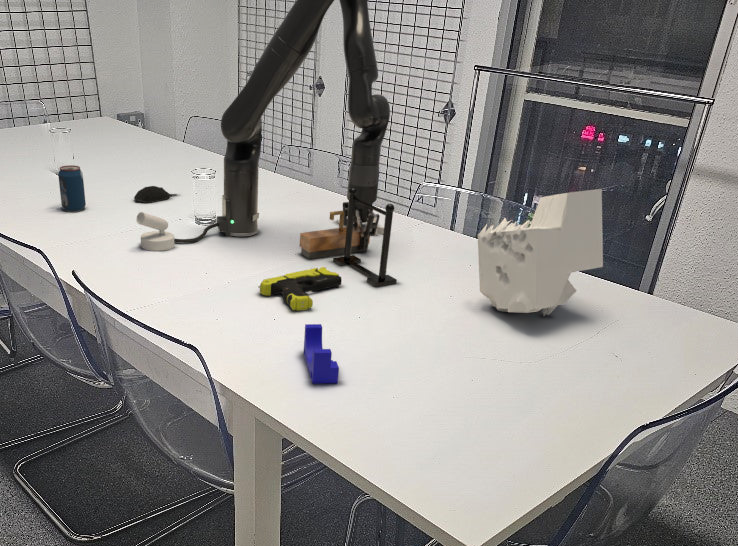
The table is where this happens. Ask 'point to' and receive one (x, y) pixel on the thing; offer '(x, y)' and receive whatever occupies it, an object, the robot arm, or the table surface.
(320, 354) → the blue stepped block
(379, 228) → the pliers
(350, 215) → the black hurdle stand
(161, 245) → the white spotlight lamp
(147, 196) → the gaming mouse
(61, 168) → the soda can
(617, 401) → the table surface
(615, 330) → the table surface
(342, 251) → the scrub brush
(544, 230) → the jagged cream rock lump
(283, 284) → the stun gun
